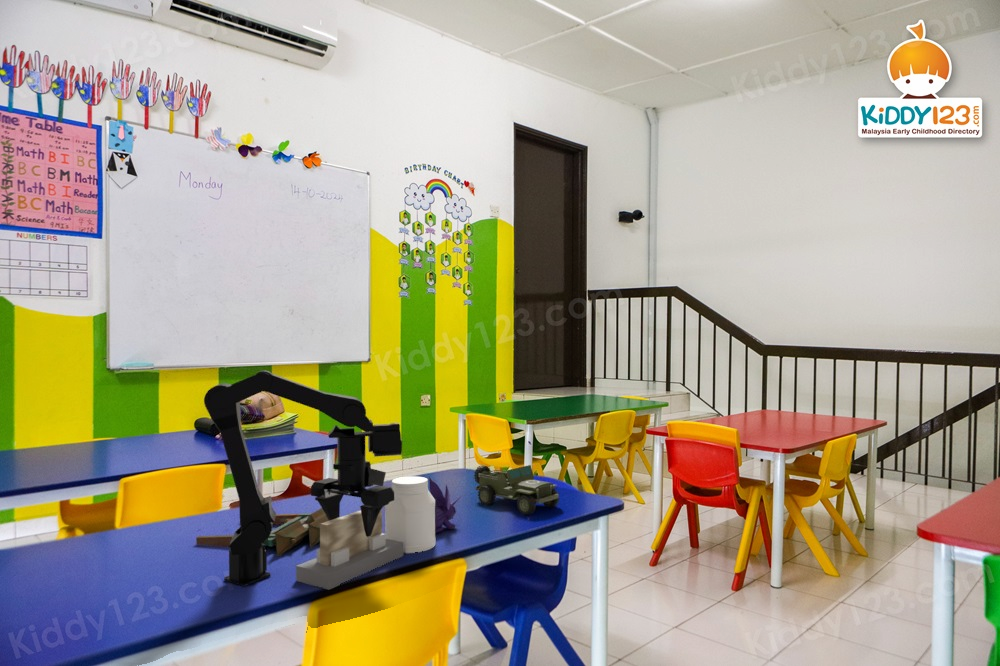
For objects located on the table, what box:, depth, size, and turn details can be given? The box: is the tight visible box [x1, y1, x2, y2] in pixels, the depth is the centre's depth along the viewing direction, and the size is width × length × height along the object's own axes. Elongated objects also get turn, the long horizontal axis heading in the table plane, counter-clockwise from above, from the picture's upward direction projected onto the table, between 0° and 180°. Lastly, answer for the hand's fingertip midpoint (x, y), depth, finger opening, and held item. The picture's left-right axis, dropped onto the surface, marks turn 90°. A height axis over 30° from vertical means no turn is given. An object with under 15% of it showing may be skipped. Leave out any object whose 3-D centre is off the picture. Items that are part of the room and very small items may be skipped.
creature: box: [428, 476, 462, 534], centre depth 164 cm, size 9×18×12 cm, turn 134°
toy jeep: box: [473, 464, 560, 516], centre depth 187 cm, size 12×25×11 cm, turn 47°
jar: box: [384, 476, 437, 554], centre depth 152 cm, size 12×10×15 cm
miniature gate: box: [195, 507, 329, 557], centre depth 160 cm, size 27×6×30 cm
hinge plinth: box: [295, 532, 404, 591], centre depth 138 cm, size 22×9×6 cm, turn 149°
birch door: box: [319, 508, 383, 566], centre depth 138 cm, size 16×2×9 cm, turn 149°
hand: (352, 532), depth 138 cm, fingers open, 9 cm apart
